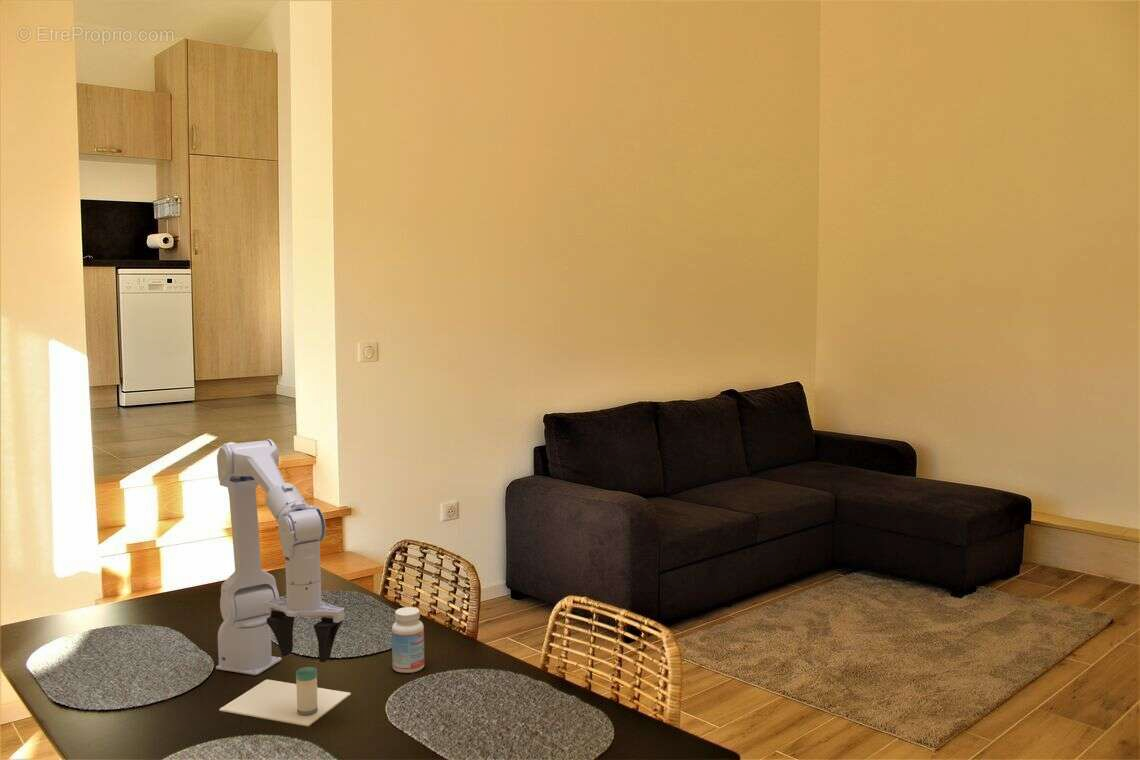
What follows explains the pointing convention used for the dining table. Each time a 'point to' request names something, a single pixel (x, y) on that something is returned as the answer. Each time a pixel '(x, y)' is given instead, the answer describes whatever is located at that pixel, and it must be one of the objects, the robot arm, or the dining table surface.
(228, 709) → the paper
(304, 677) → the green lidded jar
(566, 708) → the dining table surface
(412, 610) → the pill bottle
